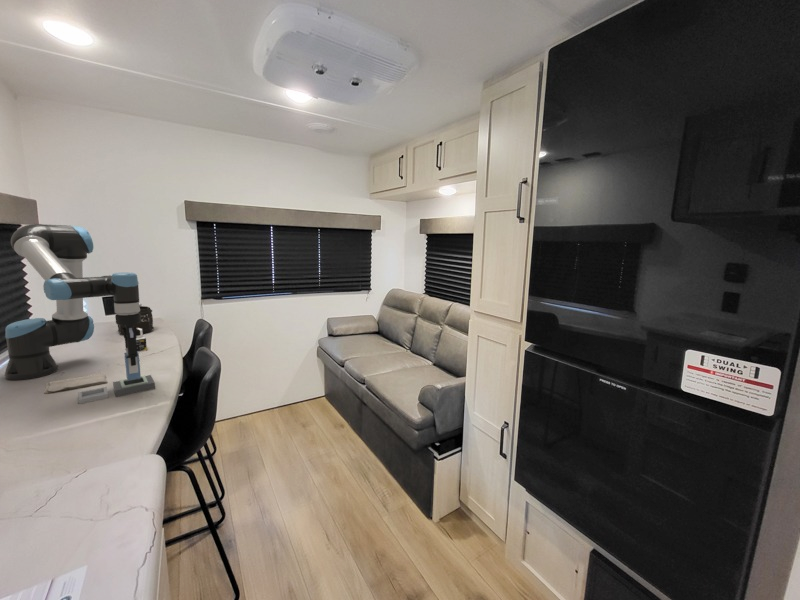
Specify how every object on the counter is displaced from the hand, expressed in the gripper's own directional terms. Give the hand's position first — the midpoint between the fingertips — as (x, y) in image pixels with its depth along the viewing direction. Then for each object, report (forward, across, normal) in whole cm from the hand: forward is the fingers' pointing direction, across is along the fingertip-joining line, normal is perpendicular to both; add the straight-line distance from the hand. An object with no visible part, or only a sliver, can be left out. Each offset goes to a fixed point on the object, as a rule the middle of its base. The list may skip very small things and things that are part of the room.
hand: (133, 371), depth 130 cm
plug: (+3, 0, 0) cm, 3 cm away
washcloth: (+9, +18, +16) cm, 26 cm away
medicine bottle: (+8, +59, -7) cm, 60 cm away
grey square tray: (+8, 0, +12) cm, 15 cm away
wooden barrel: (+8, +102, -11) cm, 103 cm away
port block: (+8, 0, 0) cm, 8 cm away
